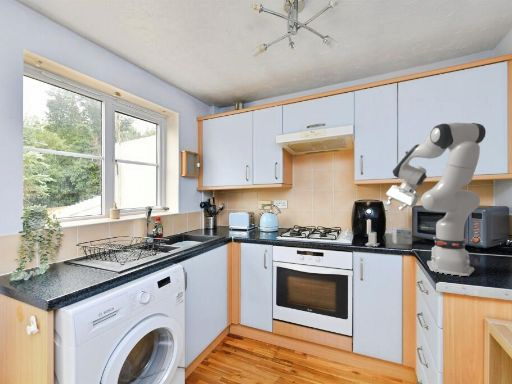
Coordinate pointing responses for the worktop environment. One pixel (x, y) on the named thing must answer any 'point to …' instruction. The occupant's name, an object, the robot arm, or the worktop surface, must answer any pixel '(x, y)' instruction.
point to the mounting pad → (372, 245)
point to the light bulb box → (402, 235)
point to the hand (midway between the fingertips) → (394, 206)
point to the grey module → (372, 238)
